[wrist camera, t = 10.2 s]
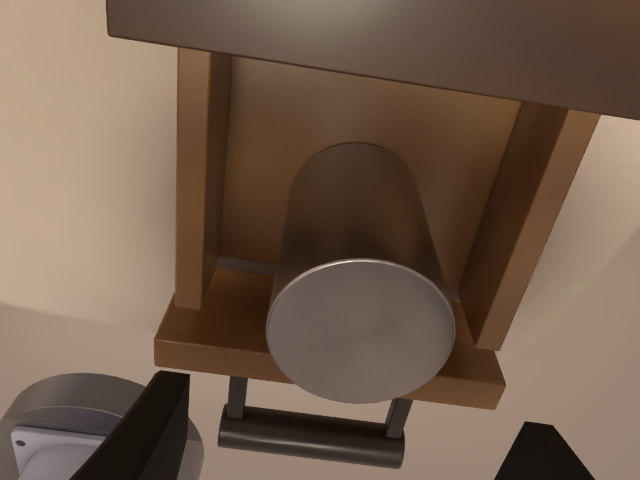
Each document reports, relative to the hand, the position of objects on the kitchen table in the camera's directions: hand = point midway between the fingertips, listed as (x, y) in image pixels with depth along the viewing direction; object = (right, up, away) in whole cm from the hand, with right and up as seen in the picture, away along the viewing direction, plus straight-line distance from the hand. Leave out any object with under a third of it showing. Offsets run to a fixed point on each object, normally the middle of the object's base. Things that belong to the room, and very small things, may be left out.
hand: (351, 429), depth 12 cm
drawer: (0, +5, +8) cm, 9 cm away
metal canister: (0, +5, +6) cm, 8 cm away
